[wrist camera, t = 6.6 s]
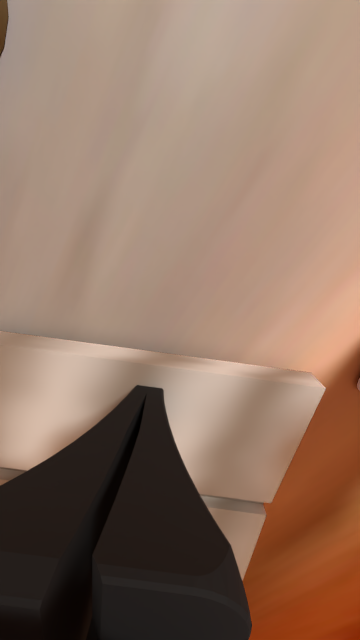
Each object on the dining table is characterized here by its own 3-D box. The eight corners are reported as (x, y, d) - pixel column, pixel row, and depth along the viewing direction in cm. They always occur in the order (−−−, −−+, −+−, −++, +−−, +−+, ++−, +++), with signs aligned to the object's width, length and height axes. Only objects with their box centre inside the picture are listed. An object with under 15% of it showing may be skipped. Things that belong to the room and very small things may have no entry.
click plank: (310, 372, 10) (326, 388, 9) (264, 481, 13) (271, 503, 12) (-34, 326, 10) (-62, 336, 9) (0, 445, 13) (-18, 464, 12)
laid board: (261, 487, 13) (268, 508, 12) (238, 556, 15) (242, 580, 14) (1, 452, 13) (-17, 470, 12) (13, 526, 15) (-1, 547, 14)
